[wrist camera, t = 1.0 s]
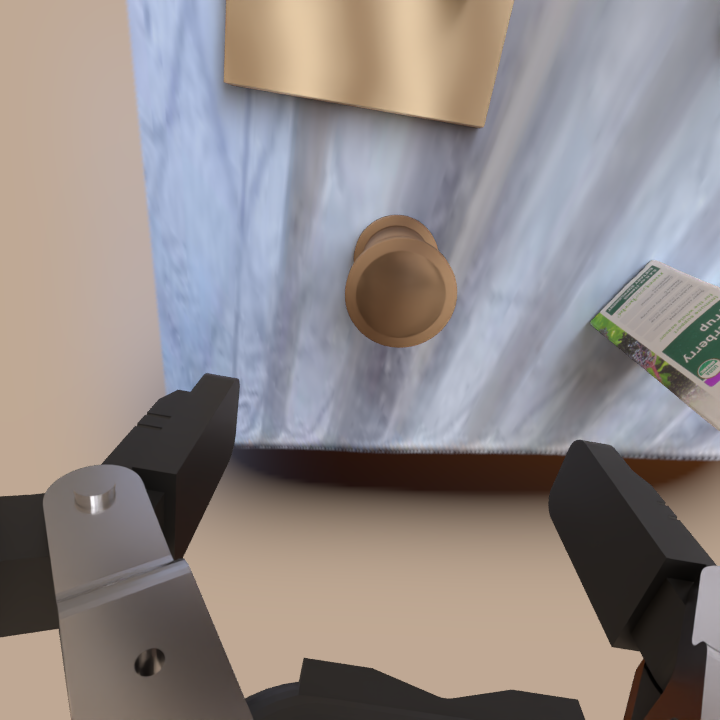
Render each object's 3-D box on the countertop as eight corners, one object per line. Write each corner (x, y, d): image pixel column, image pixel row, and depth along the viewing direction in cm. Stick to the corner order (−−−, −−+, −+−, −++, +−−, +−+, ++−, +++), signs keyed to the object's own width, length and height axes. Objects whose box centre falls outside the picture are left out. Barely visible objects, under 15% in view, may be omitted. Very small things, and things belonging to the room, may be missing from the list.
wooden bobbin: (445, 222, 31) (469, 249, 22) (427, 303, 33) (443, 355, 25) (361, 208, 30) (353, 230, 22) (348, 290, 33) (337, 338, 24)
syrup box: (651, 255, 31) (853, 335, 18) (710, 306, 32) (941, 416, 19) (586, 321, 33) (724, 437, 20) (644, 366, 34) (811, 504, 21)
